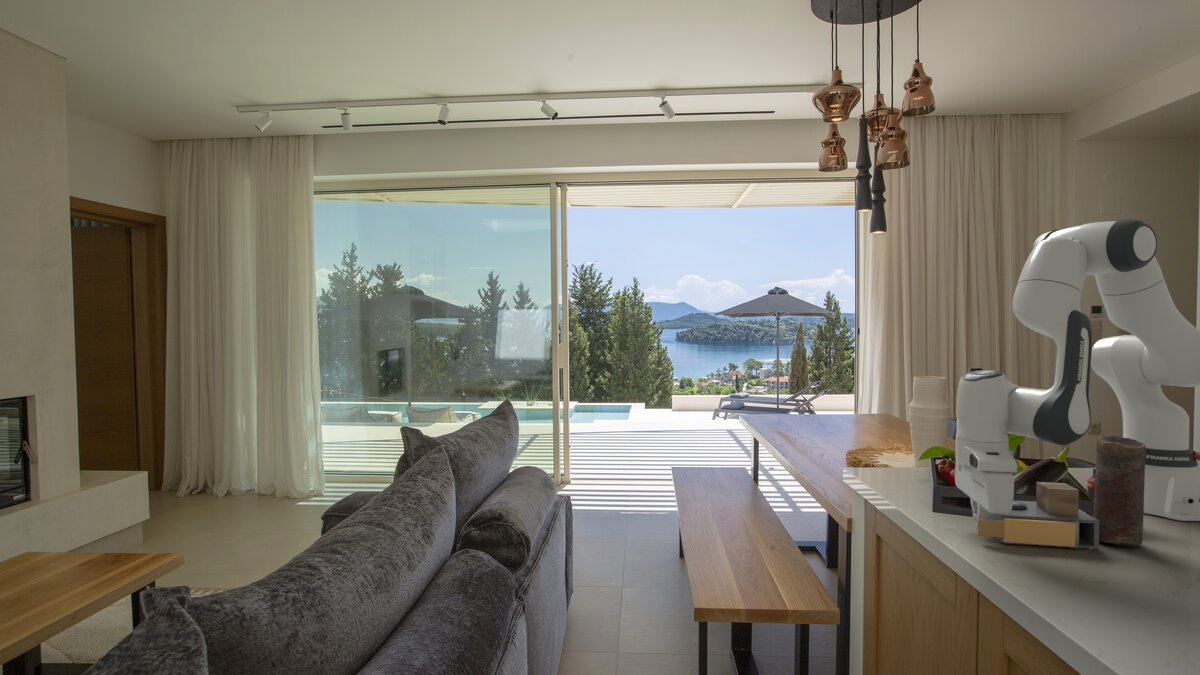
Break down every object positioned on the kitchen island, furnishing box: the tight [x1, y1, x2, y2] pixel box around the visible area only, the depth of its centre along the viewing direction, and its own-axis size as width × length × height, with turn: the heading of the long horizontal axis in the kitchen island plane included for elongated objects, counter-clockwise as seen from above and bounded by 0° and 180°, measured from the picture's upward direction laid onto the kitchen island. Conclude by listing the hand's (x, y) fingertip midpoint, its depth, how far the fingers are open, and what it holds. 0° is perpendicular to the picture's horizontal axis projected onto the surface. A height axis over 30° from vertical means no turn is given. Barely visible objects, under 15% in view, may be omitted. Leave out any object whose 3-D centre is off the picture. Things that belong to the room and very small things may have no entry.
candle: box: [1093, 435, 1146, 548], centre depth 118 cm, size 8×7×20 cm
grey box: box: [988, 499, 1100, 550], centre depth 122 cm, size 16×11×6 cm
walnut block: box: [1035, 481, 1080, 516], centre depth 120 cm, size 5×5×5 cm
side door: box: [976, 518, 1079, 549], centre depth 117 cm, size 17×1×5 cm, turn 77°
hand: (980, 523), depth 122 cm, fingers closed
